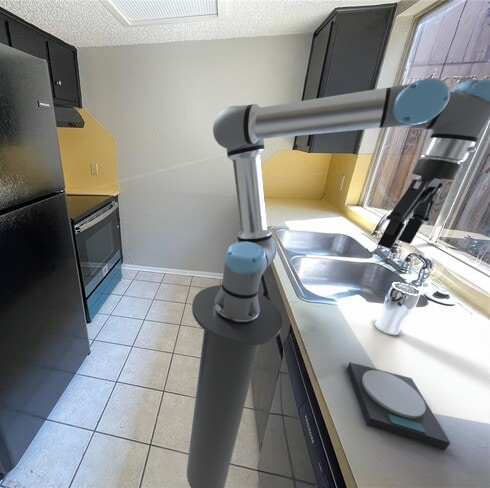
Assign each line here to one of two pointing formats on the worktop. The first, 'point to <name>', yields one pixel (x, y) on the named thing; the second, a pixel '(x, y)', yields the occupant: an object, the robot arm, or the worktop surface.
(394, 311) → the beer glass
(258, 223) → the robot arm
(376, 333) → the worktop surface
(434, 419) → the scale
